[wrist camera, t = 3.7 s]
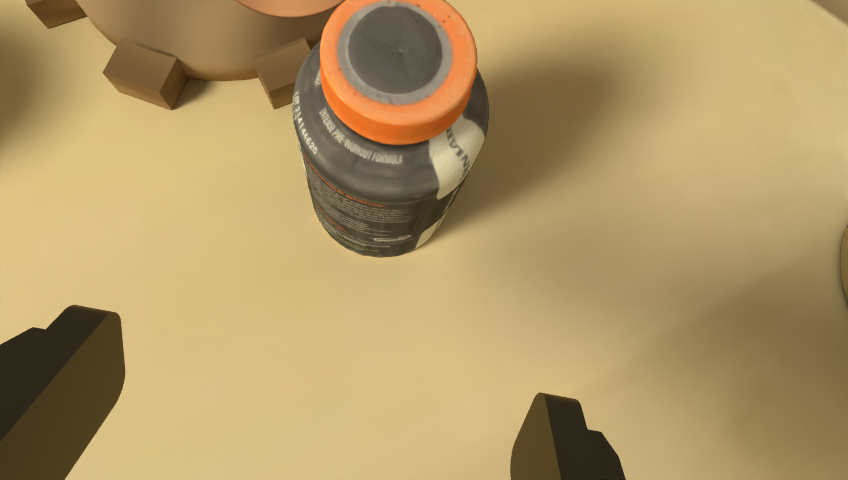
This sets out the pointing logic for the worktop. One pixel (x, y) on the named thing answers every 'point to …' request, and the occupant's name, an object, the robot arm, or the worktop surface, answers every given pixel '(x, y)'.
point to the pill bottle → (389, 121)
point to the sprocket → (199, 41)
